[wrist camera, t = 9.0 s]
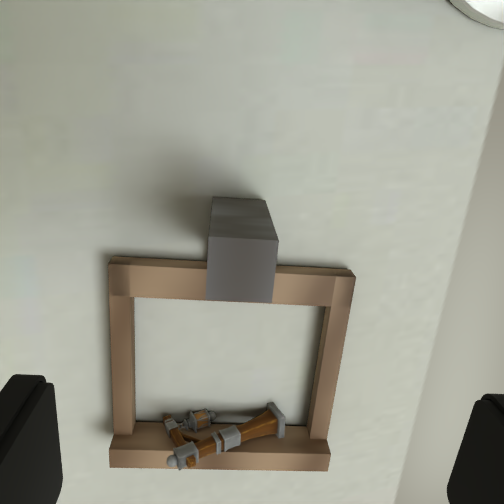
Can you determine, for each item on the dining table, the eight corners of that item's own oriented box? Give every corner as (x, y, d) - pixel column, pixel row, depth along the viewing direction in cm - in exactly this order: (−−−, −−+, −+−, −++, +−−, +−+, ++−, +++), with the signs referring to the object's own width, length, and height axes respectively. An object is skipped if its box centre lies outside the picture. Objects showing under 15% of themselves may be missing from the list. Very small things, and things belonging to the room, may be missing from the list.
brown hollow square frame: (361, 207, 26) (407, 248, 19) (320, 443, 32) (344, 534, 26) (111, 190, 25) (70, 228, 18) (118, 438, 31) (89, 533, 24)
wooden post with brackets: (149, 413, 30) (170, 461, 26) (255, 380, 33) (286, 419, 29) (151, 434, 30) (171, 484, 27) (254, 400, 34) (285, 440, 30)
